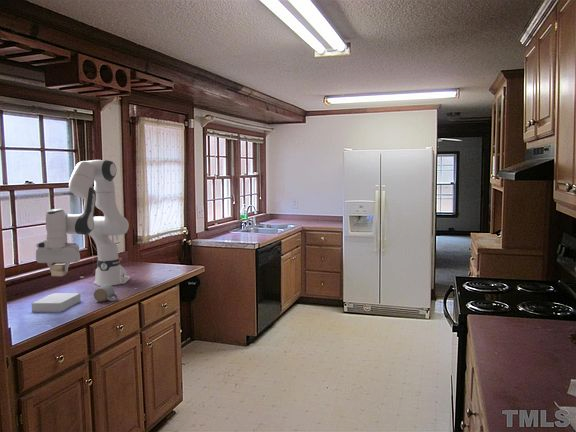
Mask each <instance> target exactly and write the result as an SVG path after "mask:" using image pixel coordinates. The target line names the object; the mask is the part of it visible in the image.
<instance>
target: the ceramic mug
mask: <svg viewBox="0 0 576 432" xmlns="http://www.w3.org/2000/svg"><path fill="white" fill-rule="evenodd" d="M115 291H116V290H115V289H114V286H113V285H110V284H103V285H102V286H99V287H97V288H96V289H95V291H93V298H94V300H95V301H97V302H98V303H99V302H100V303H103V302H106V301H111V302H116V301H118V298H119V296H118V295H117V294H116V293H115Z"/></svg>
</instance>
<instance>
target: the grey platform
mask: <svg viewBox="0 0 576 432" xmlns="http://www.w3.org/2000/svg"><path fill="white" fill-rule="evenodd" d="M81 301H82V300H81V293H80V292H79V293H78V292H77V293H76V292H68V293H67V292H65V293H64V292H62V293H61V292H60V293H59V292H53V293H51V294H49V295H46V296H44V297H41V298H40V299H38V300H35V301H34V302H32V303H31V312H34V313H35V312H38V313H39V312H43V313H44V312H45V313H48V312H51V313H59V312H60V313H61V311H62V312H63V311H65V310H67V309H69V308H71V307H72V306H75V305H77V304H79V303H80V302H81Z"/></svg>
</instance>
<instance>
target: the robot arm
mask: <svg viewBox="0 0 576 432" xmlns="http://www.w3.org/2000/svg"><path fill="white" fill-rule="evenodd" d="M117 170H118V169H117V166H116V163H114V161H113V160H107V159H106V160H103V159H102V160H101V159H94V160H82V161H79V162H77V163H76V165H75V166H74V169H73V171H72V174H71V175H70V178H69V183H68V188H69V190H70V192H71V193H72V194H73V195H74V196H76V197H78V198H79V199H83V200H84V202H83V209H82V210H83V211H82V213H79V214H74V213H73V214H70V213H66V212H65V210H64V209H63V208H52V209H49V210H47V211H46V214H45V230H46V239H45V240H43V241H41V242H38V243H36V248H37V249H36V251H35V260H36V262H37V263H39V264H47V267H48V268H49V272H50V273H51V266H52V265H53V263H54V264H65V265H66V267H65V268H63V272H67V273H68V271H69V267H70V264H72V263H73V264H75V263H79V262H80V261H81V255H80V245H78V243H76V242H68V235H84V236H87V235H89V236H90V238H92V240H93V241H94V244H95V245H96V251H97V252H96V253H97V260H96V265H97V266H96V267H97V268H96V269H95V276H94V277H95V279H94V281H93V282H92V283H93V284H94V285H96V286H99V287H100V286H102V285H103V284H110V285H111V286H117V285H122V284H126V283H127V282H128V281H129V280H130V279H131V276H128V275H127V273H126V268H124V267H123V265H121V261H122V257H119V247H118V245H117V243H116V242H114V241H113V240H111V238H110V236H122V235H125V234H127V232H128V231H129V227H130V224H129V221H128V219H127V218H126V217H125V216H123V215H122V214H121V213H120V211H119V208H118V206H117V201H116V187H115V181H114V179H115V177H116V175H117V172H118V171H117ZM93 185H94V186H93ZM96 208H97V209H99V210H100V211H101V212H102V213H103V216H101V215H100V216H99V215H98V216H96V215H95V209H96Z"/></svg>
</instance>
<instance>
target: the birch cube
mask: <svg viewBox="0 0 576 432" xmlns="http://www.w3.org/2000/svg"><path fill="white" fill-rule="evenodd" d="M65 267H66V265H65V263H54V264H52V266H51V272H50V273H51V274H50V275H51V277H63V276H66V275H68V272H63V268H65Z"/></svg>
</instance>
